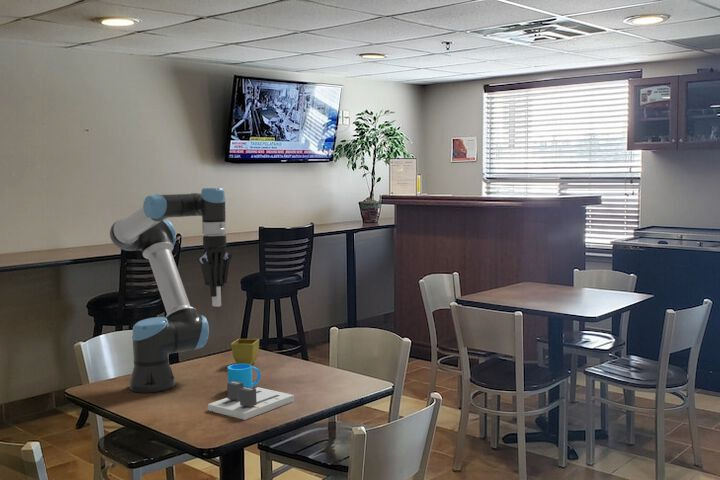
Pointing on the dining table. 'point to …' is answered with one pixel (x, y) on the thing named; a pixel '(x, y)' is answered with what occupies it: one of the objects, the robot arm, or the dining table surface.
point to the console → (264, 403)
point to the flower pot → (245, 350)
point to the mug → (242, 374)
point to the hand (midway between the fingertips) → (216, 305)
